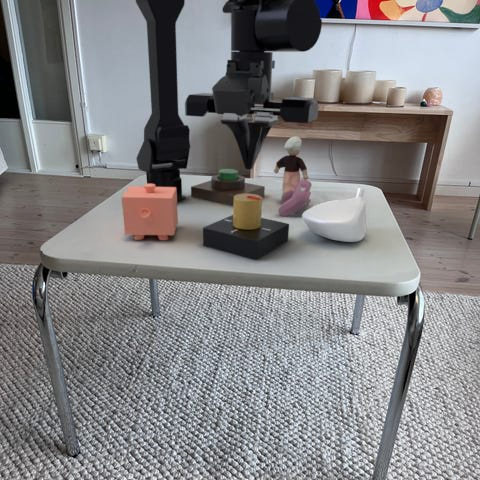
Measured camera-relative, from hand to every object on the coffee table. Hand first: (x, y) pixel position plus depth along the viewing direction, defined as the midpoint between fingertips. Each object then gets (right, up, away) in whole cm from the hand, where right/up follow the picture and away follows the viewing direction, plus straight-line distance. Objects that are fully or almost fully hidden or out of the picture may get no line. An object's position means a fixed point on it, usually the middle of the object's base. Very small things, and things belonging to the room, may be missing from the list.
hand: (249, 169), depth 73 cm
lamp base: (-4, +3, +28) cm, 29 cm away
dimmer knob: (0, -8, +3) cm, 9 cm away
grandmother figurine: (+9, +1, +25) cm, 27 cm away
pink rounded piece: (+9, -2, +21) cm, 23 cm away
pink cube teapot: (-16, -9, +7) cm, 20 cm away
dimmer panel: (0, -11, +5) cm, 12 cm away
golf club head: (+14, -9, +9) cm, 19 cm away
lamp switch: (-4, +6, +26) cm, 27 cm away
